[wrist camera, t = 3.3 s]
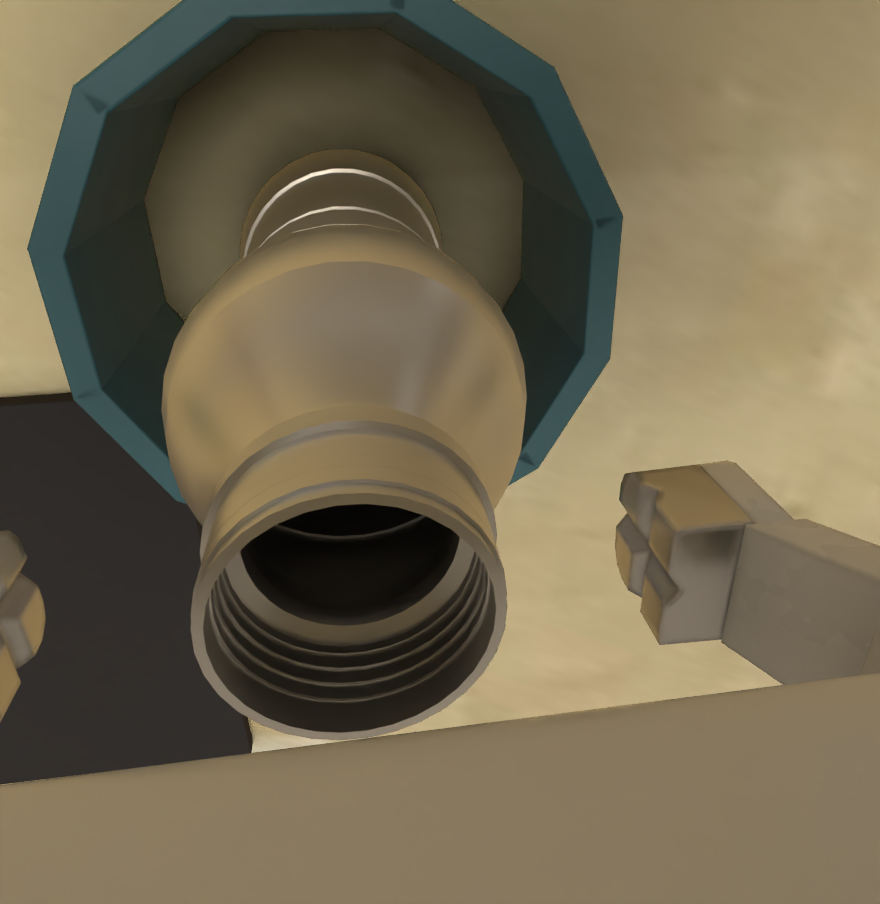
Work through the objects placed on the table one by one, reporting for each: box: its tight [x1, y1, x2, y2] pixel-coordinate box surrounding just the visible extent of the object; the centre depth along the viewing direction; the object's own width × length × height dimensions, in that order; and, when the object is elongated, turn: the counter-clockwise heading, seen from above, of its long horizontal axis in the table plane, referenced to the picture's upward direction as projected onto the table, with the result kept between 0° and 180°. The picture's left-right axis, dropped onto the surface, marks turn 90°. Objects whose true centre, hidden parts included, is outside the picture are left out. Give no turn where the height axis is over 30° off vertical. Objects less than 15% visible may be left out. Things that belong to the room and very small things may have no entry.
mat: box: [0, 393, 253, 784], centre depth 31 cm, size 20×16×1 cm
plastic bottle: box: [161, 149, 527, 740], centre depth 17 cm, size 6×7×20 cm
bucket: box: [27, 0, 623, 504], centre depth 22 cm, size 15×15×8 cm
